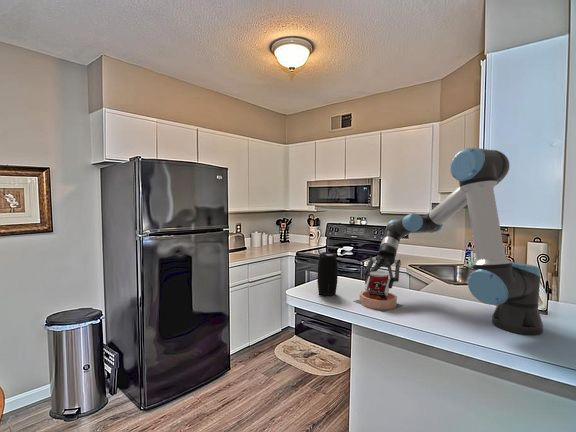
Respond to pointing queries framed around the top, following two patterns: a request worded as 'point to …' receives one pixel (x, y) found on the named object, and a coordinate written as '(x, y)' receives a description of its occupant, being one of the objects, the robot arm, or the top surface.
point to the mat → (382, 309)
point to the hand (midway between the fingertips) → (375, 292)
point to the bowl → (378, 301)
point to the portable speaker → (327, 274)
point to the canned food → (378, 285)
